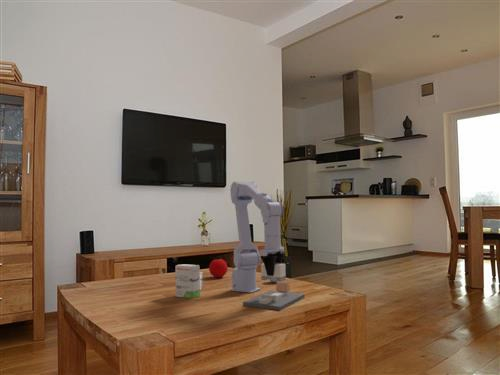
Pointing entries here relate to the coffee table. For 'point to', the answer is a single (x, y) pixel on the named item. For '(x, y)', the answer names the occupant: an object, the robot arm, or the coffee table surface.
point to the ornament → (218, 267)
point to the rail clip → (282, 286)
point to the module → (278, 272)
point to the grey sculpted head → (273, 279)
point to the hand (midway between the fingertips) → (273, 274)
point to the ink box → (187, 280)
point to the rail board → (274, 300)
